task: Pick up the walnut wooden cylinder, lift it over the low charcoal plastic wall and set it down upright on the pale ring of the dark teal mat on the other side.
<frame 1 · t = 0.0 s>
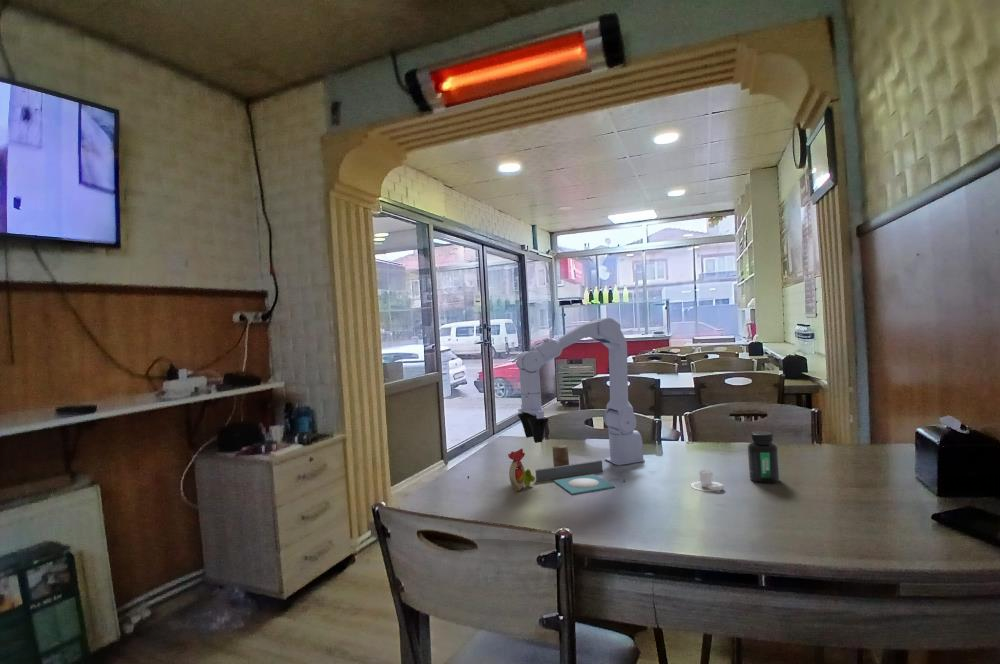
hand: (533, 439, 150), 10 cm above the table, tool pointing down, fingers open, 7 cm apart
supplement bottle: (764, 480, 132), on the table
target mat: (583, 484, 138), on the table
bird rattle: (520, 489, 139), on the table
teacup and saucer: (701, 492, 128), on the table
low wall: (569, 475, 147), on the table
walnut cylinder: (561, 470, 153), on the table
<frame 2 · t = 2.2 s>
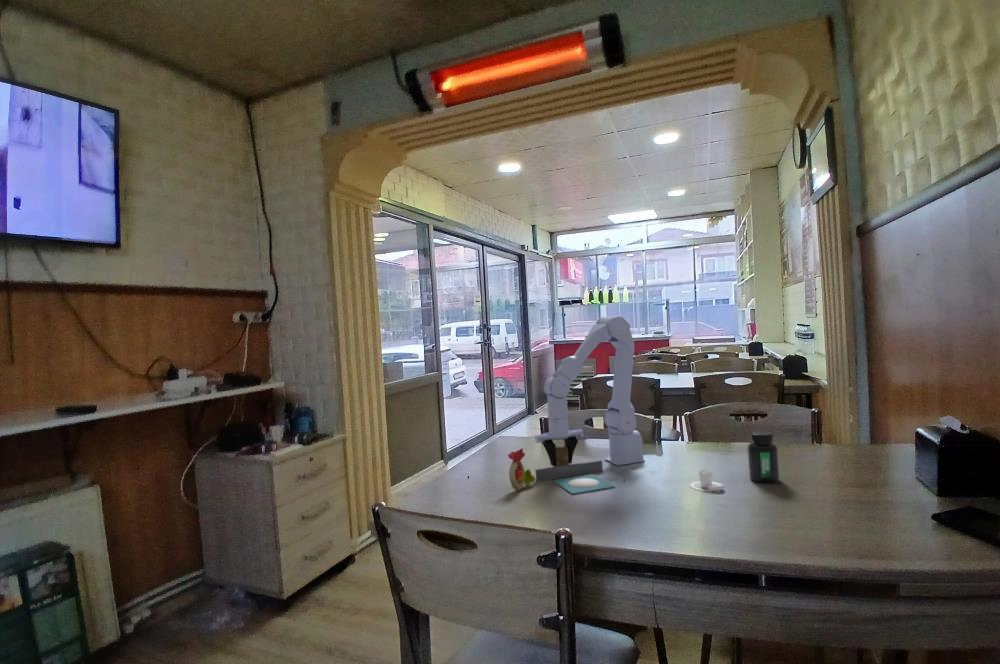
hand: (561, 463, 152), 2 cm above the table, tool pointing down, fingers closed on walnut cylinder, 4 cm apart
walnut cylinder: (561, 470, 153), on the table, touching gripper
everything else where it was.
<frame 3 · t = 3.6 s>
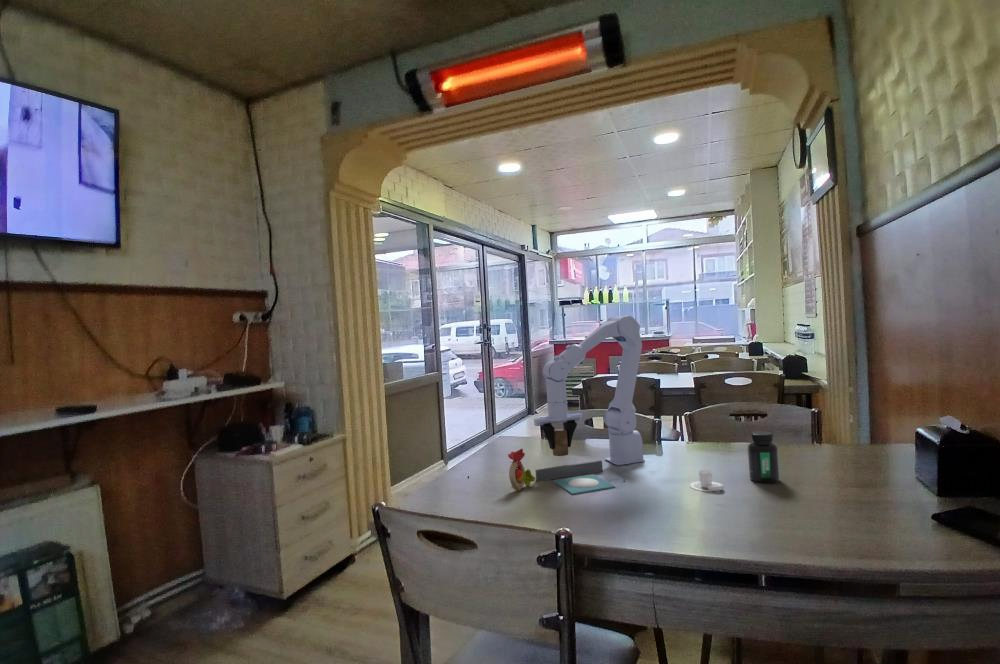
hand: (560, 447, 152), 7 cm above the table, tool pointing down, fingers closed on walnut cylinder, 4 cm apart
walnut cylinder: (560, 454, 152), point 5 cm above the table, touching gripper
everything else where it was.
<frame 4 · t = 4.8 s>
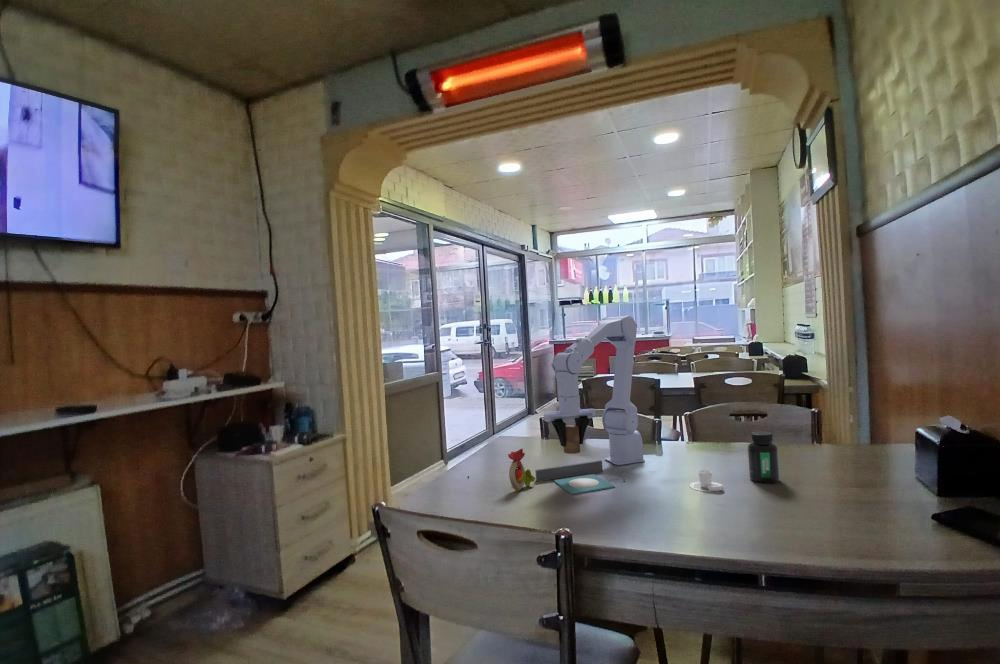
hand: (571, 444, 144), 9 cm above the table, tool pointing down, fingers closed on walnut cylinder, 4 cm apart
walnut cylinder: (572, 451, 144), point 8 cm above the table, touching gripper
everything else where it was.
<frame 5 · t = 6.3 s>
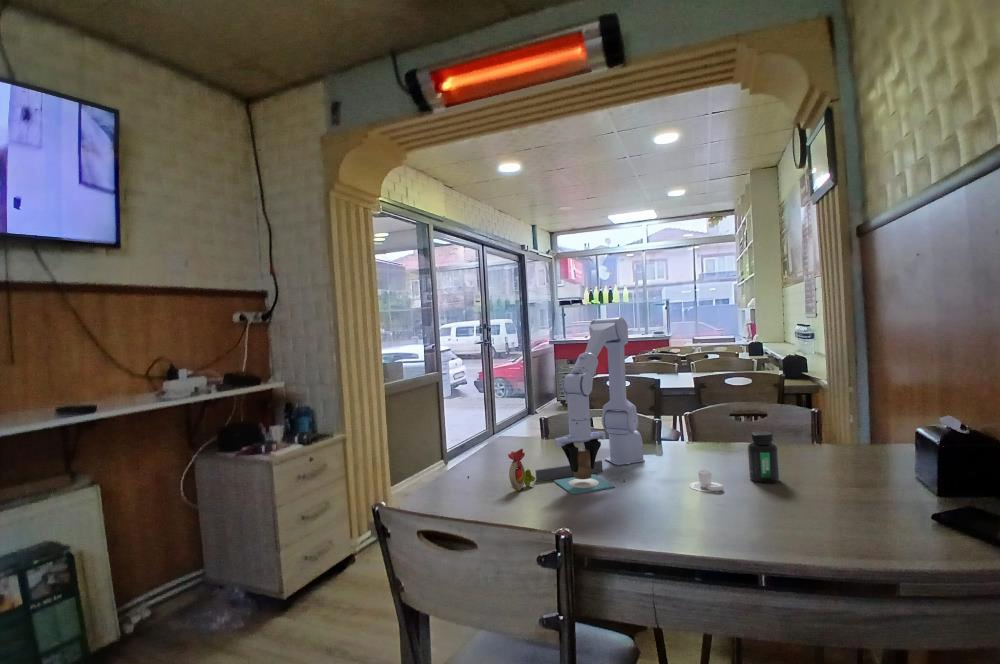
hand: (582, 469, 138), 4 cm above the table, tool pointing down, fingers closed on walnut cylinder, 4 cm apart
walnut cylinder: (582, 476, 138), point 2 cm above the table, touching gripper
everything else where it was.
when the fingers open (3 cm above the table, at t = 7.3 s): walnut cylinder stays where it is, resting on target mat.
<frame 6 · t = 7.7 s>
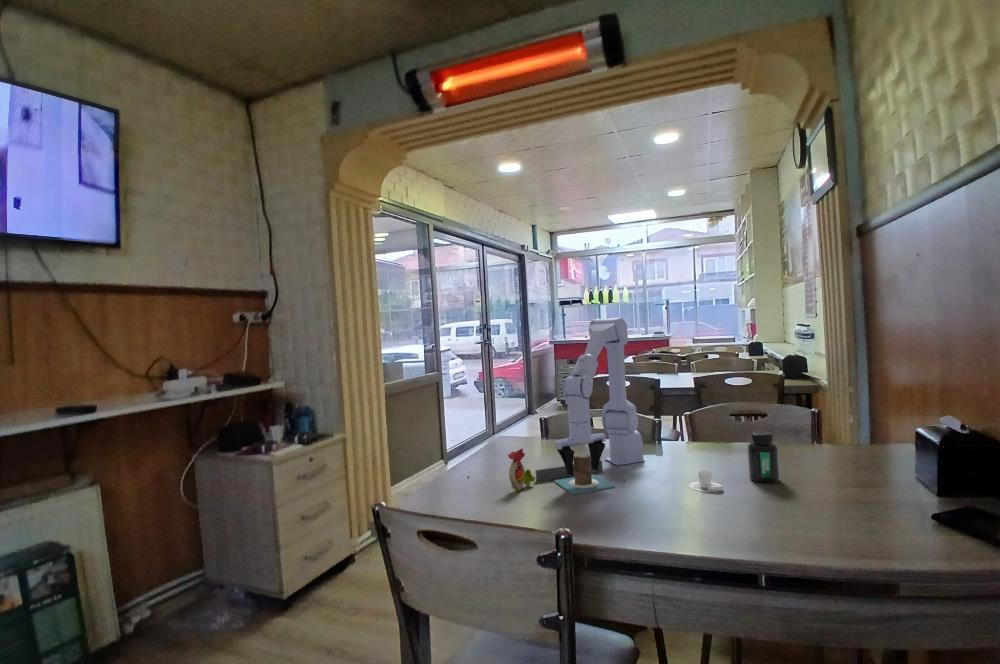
hand: (582, 471, 138), 3 cm above the table, tool pointing down, fingers open, 7 cm apart
walnut cylinder: (583, 482, 138), point 1 cm above the table, touching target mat
everything else where it was.
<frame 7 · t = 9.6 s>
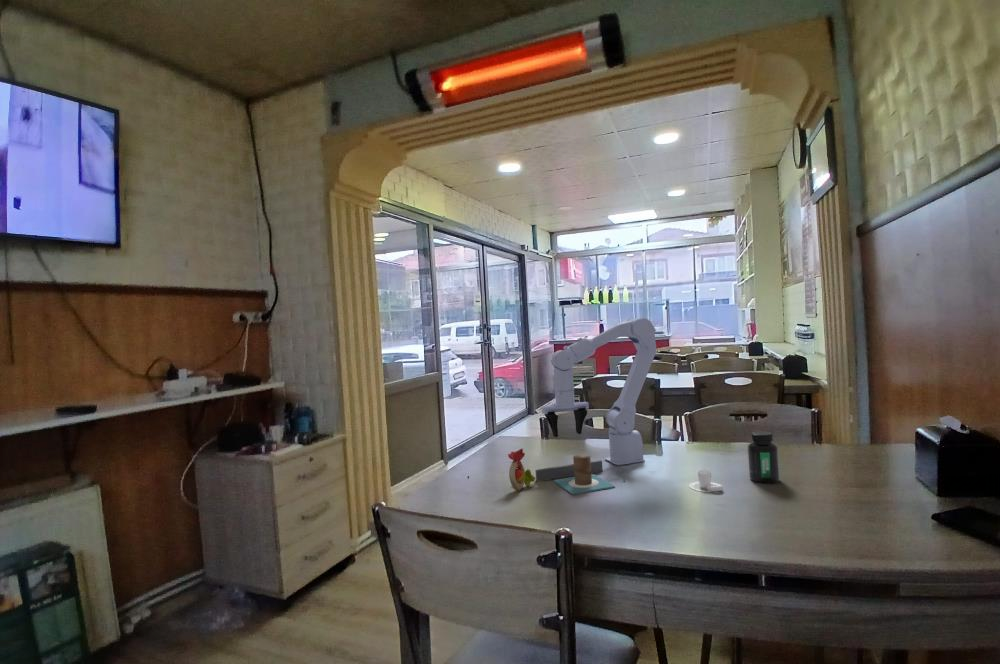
hand: (567, 435, 156), 9 cm above the table, tool pointing down, fingers open, 7 cm apart
nothing on the table moved.
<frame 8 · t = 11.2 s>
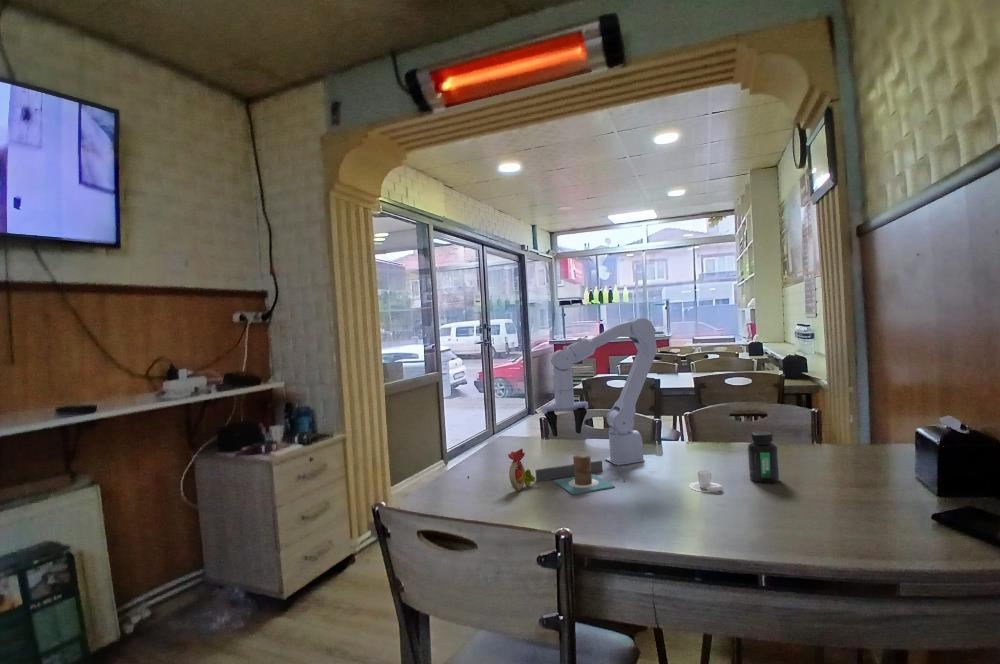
hand: (566, 434, 157), 9 cm above the table, tool pointing down, fingers open, 7 cm apart
nothing on the table moved.
at the end: walnut cylinder inside the target area on the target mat (0.0 cm from its centre), point 0.5 cm above the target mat's base; walnut cylinder tilted 0°; the gripper is holding nothing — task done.
